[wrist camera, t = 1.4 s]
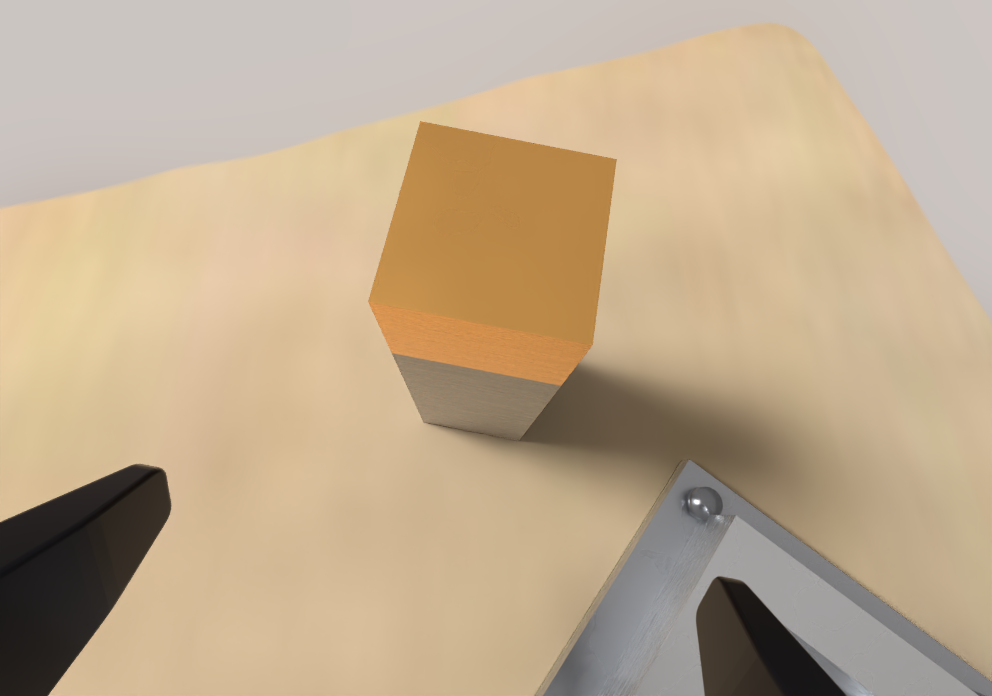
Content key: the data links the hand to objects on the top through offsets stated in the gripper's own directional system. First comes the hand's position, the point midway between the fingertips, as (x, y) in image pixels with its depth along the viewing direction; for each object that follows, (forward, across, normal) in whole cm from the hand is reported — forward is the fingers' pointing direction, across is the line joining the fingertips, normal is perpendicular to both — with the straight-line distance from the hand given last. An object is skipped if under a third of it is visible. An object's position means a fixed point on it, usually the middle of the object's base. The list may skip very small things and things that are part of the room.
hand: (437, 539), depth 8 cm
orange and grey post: (+12, 0, +5) cm, 13 cm away
